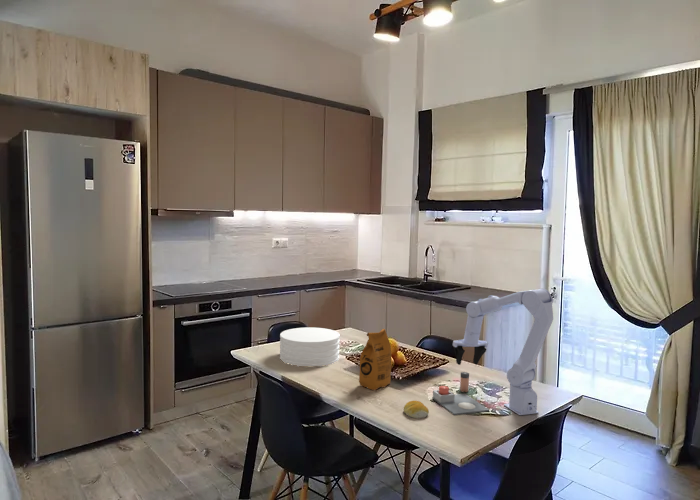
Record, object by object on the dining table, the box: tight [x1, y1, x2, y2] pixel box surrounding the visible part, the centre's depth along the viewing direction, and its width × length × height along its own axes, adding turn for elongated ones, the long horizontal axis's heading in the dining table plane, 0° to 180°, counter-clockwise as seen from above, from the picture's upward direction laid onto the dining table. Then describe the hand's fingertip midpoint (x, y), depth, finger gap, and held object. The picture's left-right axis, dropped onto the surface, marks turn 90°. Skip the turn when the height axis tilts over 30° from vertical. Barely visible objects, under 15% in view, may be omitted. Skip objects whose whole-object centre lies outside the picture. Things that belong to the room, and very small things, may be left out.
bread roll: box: [403, 400, 430, 419], centre depth 170 cm, size 8×9×4 cm
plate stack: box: [279, 326, 341, 367], centre depth 232 cm, size 28×28×12 cm
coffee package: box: [358, 328, 392, 391], centre depth 197 cm, size 10×12×22 cm
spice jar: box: [459, 371, 470, 393], centre depth 193 cm, size 3×3×7 cm
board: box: [431, 389, 490, 416], centre depth 179 cm, size 16×14×3 cm
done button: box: [438, 385, 450, 395], centre depth 182 cm, size 4×4×3 cm
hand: (466, 363), depth 193 cm, fingers open, 7 cm apart
